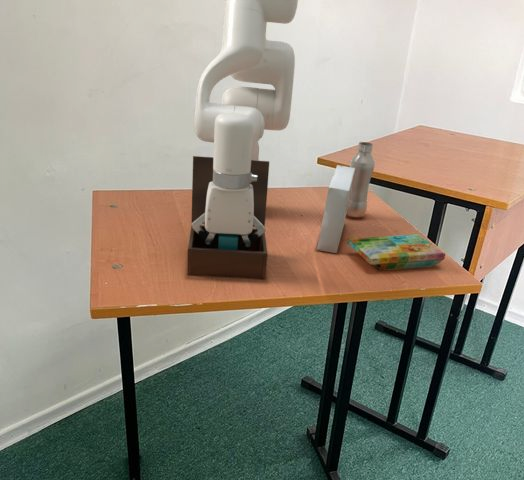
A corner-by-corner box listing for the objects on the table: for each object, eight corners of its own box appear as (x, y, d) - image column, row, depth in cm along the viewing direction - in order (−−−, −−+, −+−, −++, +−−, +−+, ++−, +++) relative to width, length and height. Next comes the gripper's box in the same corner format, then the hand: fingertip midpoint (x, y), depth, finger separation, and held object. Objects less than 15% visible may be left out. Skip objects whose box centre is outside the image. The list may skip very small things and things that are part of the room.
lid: (269, 161, 128) (268, 159, 132) (193, 156, 127) (194, 154, 131) (264, 227, 134) (263, 223, 138) (191, 223, 132) (192, 219, 136)
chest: (264, 282, 126) (267, 253, 123) (187, 278, 125) (187, 248, 121) (261, 256, 138) (264, 229, 134) (190, 252, 136) (191, 224, 133)
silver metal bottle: (342, 210, 170) (353, 139, 159) (365, 214, 169) (378, 142, 158) (340, 218, 164) (352, 144, 153) (364, 221, 163) (377, 148, 153)
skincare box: (338, 254, 142) (349, 190, 134) (316, 251, 143) (325, 186, 135) (345, 225, 160) (355, 166, 151) (326, 222, 161) (334, 163, 152)
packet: (235, 273, 127) (237, 238, 123) (217, 272, 127) (218, 237, 123) (235, 262, 132) (237, 228, 128) (217, 261, 132) (219, 227, 127)
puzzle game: (446, 250, 138) (370, 255, 132) (441, 268, 140) (367, 274, 134) (420, 231, 147) (348, 235, 141) (416, 249, 150) (345, 253, 143)
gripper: (272, 176, 123) (265, 255, 132) (189, 170, 121) (188, 251, 131) (274, 187, 116) (267, 269, 126) (187, 181, 115) (186, 265, 125)
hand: (227, 259), depth 128 cm, fingers open, 6 cm apart
